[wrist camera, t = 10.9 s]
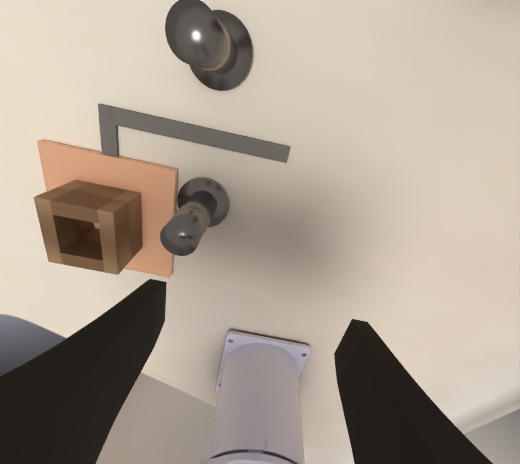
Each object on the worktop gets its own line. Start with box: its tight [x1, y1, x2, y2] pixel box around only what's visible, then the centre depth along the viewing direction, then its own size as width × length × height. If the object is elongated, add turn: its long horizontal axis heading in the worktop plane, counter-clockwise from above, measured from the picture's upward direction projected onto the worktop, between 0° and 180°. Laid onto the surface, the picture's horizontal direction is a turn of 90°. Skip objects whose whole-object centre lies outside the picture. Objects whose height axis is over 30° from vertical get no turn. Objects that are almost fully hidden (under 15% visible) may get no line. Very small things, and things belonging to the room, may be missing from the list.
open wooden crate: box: [34, 180, 143, 275], centre depth 18 cm, size 4×4×4 cm
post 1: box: [165, 0, 253, 90], centre depth 12 cm, size 4×4×6 cm
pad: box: [37, 140, 178, 277], centre depth 19 cm, size 9×9×1 cm
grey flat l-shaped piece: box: [98, 104, 290, 163], centre depth 17 cm, size 4×12×1 cm, turn 78°
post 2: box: [160, 177, 229, 256], centre depth 16 cm, size 4×4×6 cm
